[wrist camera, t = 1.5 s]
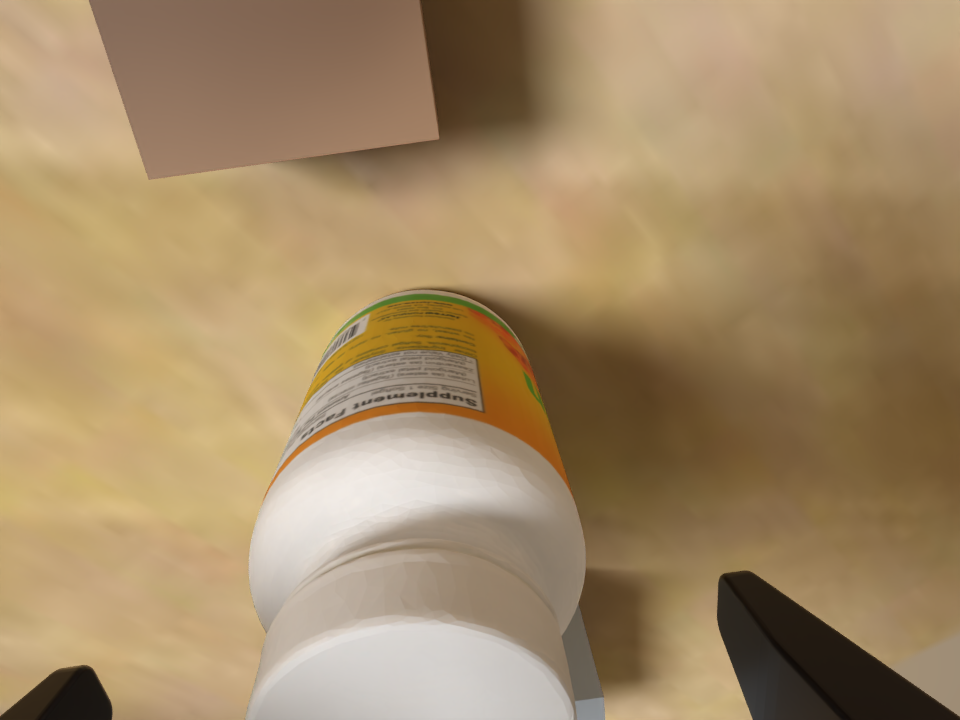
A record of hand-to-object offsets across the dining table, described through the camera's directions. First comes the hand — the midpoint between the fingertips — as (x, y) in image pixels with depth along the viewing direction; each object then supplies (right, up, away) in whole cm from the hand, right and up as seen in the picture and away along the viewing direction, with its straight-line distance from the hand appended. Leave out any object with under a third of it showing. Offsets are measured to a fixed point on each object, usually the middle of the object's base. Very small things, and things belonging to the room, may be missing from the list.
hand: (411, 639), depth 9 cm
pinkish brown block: (-2, +11, +4) cm, 12 cm away
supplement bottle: (0, +3, +7) cm, 8 cm away
